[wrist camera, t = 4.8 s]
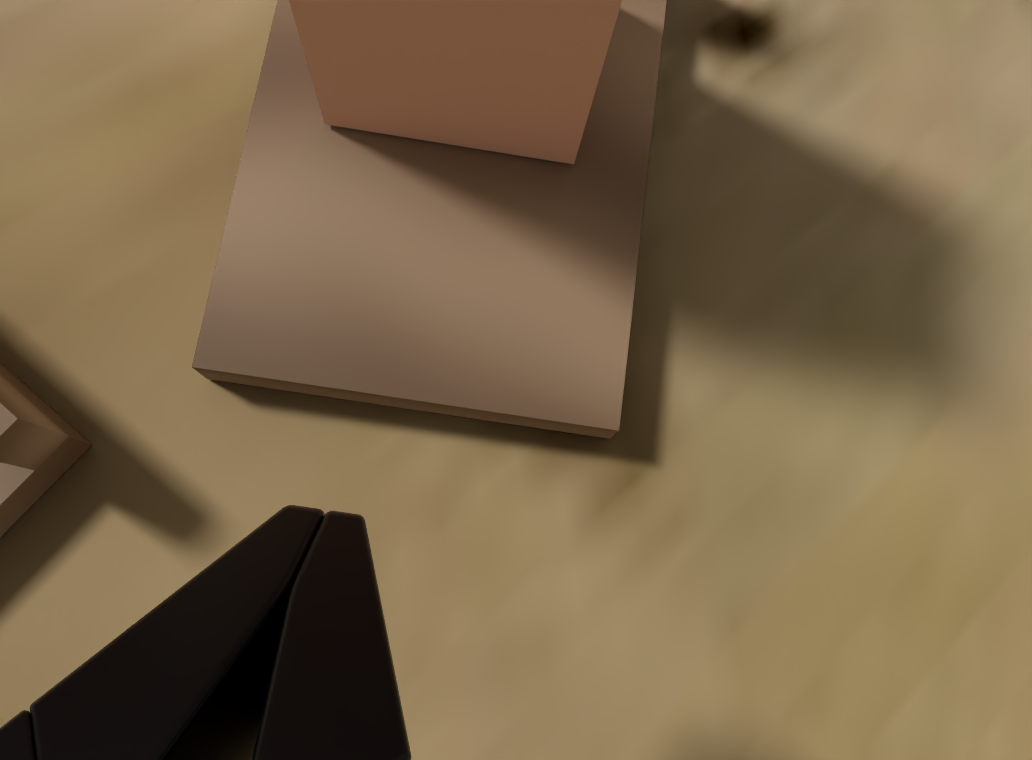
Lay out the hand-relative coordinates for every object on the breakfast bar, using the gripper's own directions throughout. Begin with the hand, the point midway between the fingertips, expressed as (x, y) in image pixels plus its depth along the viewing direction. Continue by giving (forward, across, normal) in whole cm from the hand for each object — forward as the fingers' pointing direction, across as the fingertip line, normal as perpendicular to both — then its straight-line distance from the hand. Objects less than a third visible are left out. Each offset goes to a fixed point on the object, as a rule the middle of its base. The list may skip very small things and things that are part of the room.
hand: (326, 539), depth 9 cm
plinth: (+11, 0, -1) cm, 11 cm away
